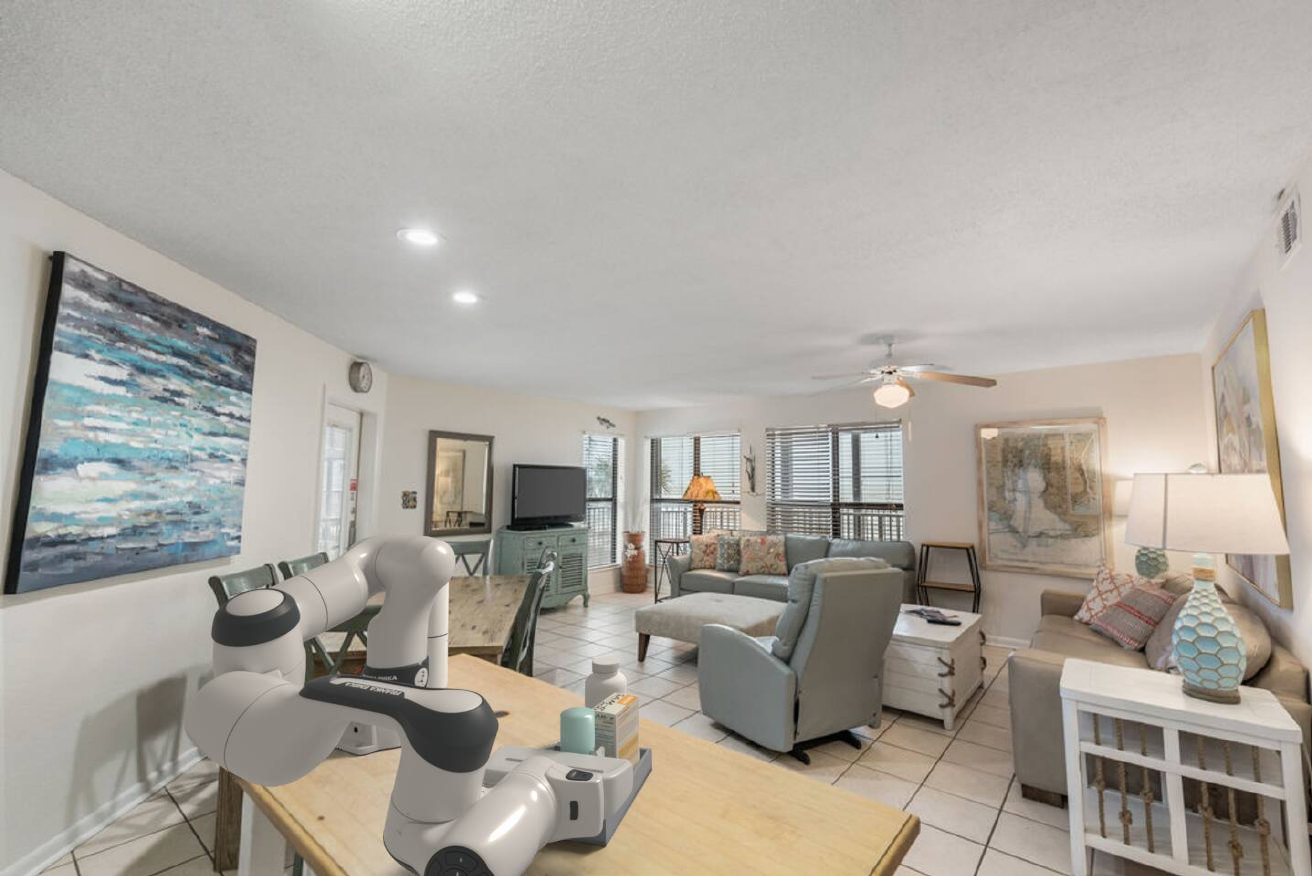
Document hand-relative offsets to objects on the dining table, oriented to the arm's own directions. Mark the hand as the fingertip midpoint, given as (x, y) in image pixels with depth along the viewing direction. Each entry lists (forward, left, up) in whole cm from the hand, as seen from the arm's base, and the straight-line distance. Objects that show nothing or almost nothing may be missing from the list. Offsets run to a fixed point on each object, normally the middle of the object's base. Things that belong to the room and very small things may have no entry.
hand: (580, 749), depth 83 cm
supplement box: (+3, +8, -9) cm, 12 cm away
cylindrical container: (-59, +42, -10) cm, 73 cm away
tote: (0, +5, -9) cm, 11 cm away
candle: (0, -1, -8) cm, 8 cm away
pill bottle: (-6, +24, -10) cm, 27 cm away
